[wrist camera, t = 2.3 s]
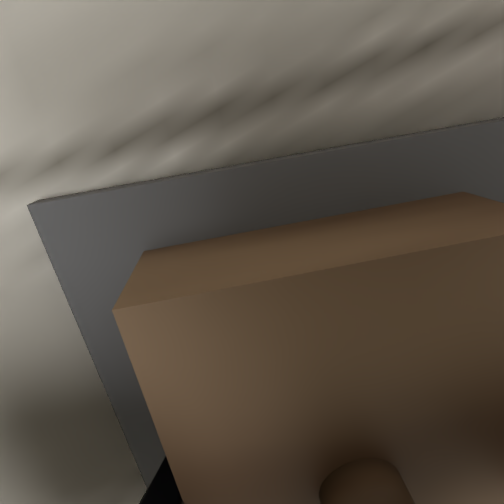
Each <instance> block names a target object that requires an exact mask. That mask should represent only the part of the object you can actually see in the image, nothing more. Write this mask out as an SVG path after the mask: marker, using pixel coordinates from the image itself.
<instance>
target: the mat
mask: <svg viewBox="0 0 504 504" xmlns="http://www.w3.org/2000/svg"><path fill="white" fill-rule="evenodd" d="M458 192H466V193H470V194H474V195H477V196H481V197H484V198H488V199H491V200H495V201H498V202H502V203H504V117H503V118H497V119H492V120H486V121H480V122H475V123H469V124H463V125H458V126H452V127H447V128H441V129H435V130H430V131H424V132H419V133H413V134H407V135H402V136H396V137H391V138H385V139H379V140H374V141H368V142H362V143H357V144H351V145H346V146H340V147H334V148H329V149H323V150H318V151H312V152H306V153H301V154H295V155H290V156H284V157H278V158H273V159H267V160H261V161H256V162H250V163H245V164H239V165H233V166H228V167H222V168H217V169H211V170H205V171H200V172H194V173H189V174H183V175H177V176H172V177H166V178H160V179H155V180H149V181H144V182H138V183H132V184H127V185H121V186H116V187H110V188H104V189H99V190H93V191H88V192H82V193H76V194H71V195H65V196H59V197H54V198H48V199H43V200H37V201H35V202H33V203H31V204H29V205H27V207H28V209H29V211H30V214H31V216H32V219H33V221H34V223H35V226H36V228H37V230H38V233H39V235H40V237H41V240H42V242H43V244H44V247H45V249H46V251H47V254H48V256H49V258H50V261H51V263H52V266H53V268H54V270H55V273H56V275H57V277H58V280H59V282H60V284H61V287H62V289H63V291H64V294H65V296H66V298H67V301H68V303H69V306H70V308H71V310H72V313H73V315H74V317H75V320H76V322H77V324H78V327H79V329H80V331H81V334H82V336H83V338H84V341H85V343H86V345H87V348H88V350H89V353H90V355H91V357H92V360H93V362H94V364H95V367H96V369H97V371H98V374H99V376H100V378H101V381H102V383H103V385H104V388H105V390H106V393H107V395H108V397H109V400H110V402H111V404H112V407H113V409H114V411H115V414H116V416H117V418H118V421H119V423H120V425H121V428H122V430H123V432H124V435H125V437H126V440H127V442H128V444H129V447H130V449H131V451H132V454H133V456H134V458H135V461H136V463H137V465H138V468H139V470H140V472H141V475H142V477H143V480H144V482H145V484H146V487H147V489H148V487H149V485H150V483H151V481H152V480H153V478H154V476H155V474H156V472H157V470H158V469H159V467H160V465H161V463H162V461H163V460H164V458H165V456H166V455H165V452H164V449H163V446H162V444H161V441H160V438H159V436H158V433H157V430H156V428H155V425H154V422H153V420H152V417H151V414H150V411H149V409H148V406H147V403H146V401H145V398H144V395H143V393H142V390H141V387H140V385H139V382H138V379H137V376H136V374H135V371H134V368H133V366H132V363H131V360H130V358H129V355H128V352H127V350H126V347H125V344H124V342H123V339H122V336H121V333H120V331H119V328H118V325H117V323H116V320H115V317H114V315H113V312H112V309H113V307H114V305H115V304H116V302H117V300H118V298H119V296H120V294H121V292H122V291H123V289H124V287H125V285H126V283H127V281H128V279H129V278H130V276H131V274H132V272H133V270H134V268H135V266H136V265H137V263H138V261H139V259H140V257H141V255H142V253H143V252H144V251H147V250H152V249H158V248H163V247H168V246H174V245H179V244H184V243H190V242H195V241H201V240H206V239H211V238H217V237H222V236H227V235H233V234H238V233H243V232H249V231H254V230H260V229H265V228H270V227H276V226H281V225H286V224H292V223H297V222H302V221H308V220H313V219H319V218H324V217H329V216H335V215H340V214H345V213H351V212H356V211H362V210H367V209H372V208H378V207H383V206H388V205H394V204H399V203H404V202H410V201H415V200H421V199H426V198H431V197H437V196H442V195H447V194H453V193H458Z"/></svg>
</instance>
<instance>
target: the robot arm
mask: <svg viewBox="0 0 504 504" xmlns="http://www.w3.org/2000/svg"><path fill="white" fill-rule="evenodd" d="M139 504H184V502H183V500H182V498H181V495H180V492H179V490H178V487H177V484H176V481H175V479H174V476H173V473H172V471H171V468H170V465H169V463H168V460H167V457H166V456H165V458H164V460H163V461H162V463H161V465H160V467H159V469H158V470H157V472H156V474H155V476H154V478H153V480H152V481H151V483H150V485H149V487H148V489H147V490H146V492H145V494H144V496H143V498H142V499H141V501H140V503H139Z"/></svg>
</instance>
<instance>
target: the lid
mask: <svg viewBox="0 0 504 504" xmlns="http://www.w3.org/2000/svg"><path fill="white" fill-rule="evenodd" d="M112 312H113V315H114V317H115V320H116V323H117V325H118V328H119V331H120V333H121V336H122V339H123V342H124V344H125V347H126V350H127V352H128V355H129V358H130V360H131V363H132V366H133V368H134V371H135V374H136V376H137V379H138V382H139V385H140V387H141V390H142V393H143V395H144V398H145V401H146V403H147V406H148V409H149V411H150V414H151V417H152V420H153V422H154V425H155V428H156V430H157V433H158V436H159V438H160V441H161V444H162V446H163V449H164V452H165V455H166V457H167V460H168V463H169V465H170V468H171V471H172V473H173V476H174V479H175V481H176V484H177V487H178V490H179V492H180V495H181V498H182V500H183V502H184V504H504V203H502V202H498V201H495V200H491V199H488V198H484V197H481V196H477V195H474V194H470V193H466V192H458V193H453V194H447V195H442V196H437V197H431V198H426V199H421V200H415V201H410V202H404V203H399V204H394V205H388V206H383V207H378V208H372V209H367V210H362V211H356V212H351V213H345V214H340V215H335V216H329V217H324V218H319V219H313V220H308V221H302V222H297V223H292V224H286V225H281V226H276V227H270V228H265V229H260V230H254V231H249V232H243V233H238V234H233V235H227V236H222V237H217V238H211V239H206V240H201V241H195V242H190V243H184V244H179V245H174V246H168V247H163V248H158V249H152V250H147V251H144V252H143V253H142V255H141V257H140V259H139V261H138V263H137V265H136V266H135V268H134V270H133V272H132V274H131V276H130V278H129V279H128V281H127V283H126V285H125V287H124V289H123V291H122V292H121V294H120V296H119V298H118V300H117V302H116V304H115V305H114V307H113V309H112Z"/></svg>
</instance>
